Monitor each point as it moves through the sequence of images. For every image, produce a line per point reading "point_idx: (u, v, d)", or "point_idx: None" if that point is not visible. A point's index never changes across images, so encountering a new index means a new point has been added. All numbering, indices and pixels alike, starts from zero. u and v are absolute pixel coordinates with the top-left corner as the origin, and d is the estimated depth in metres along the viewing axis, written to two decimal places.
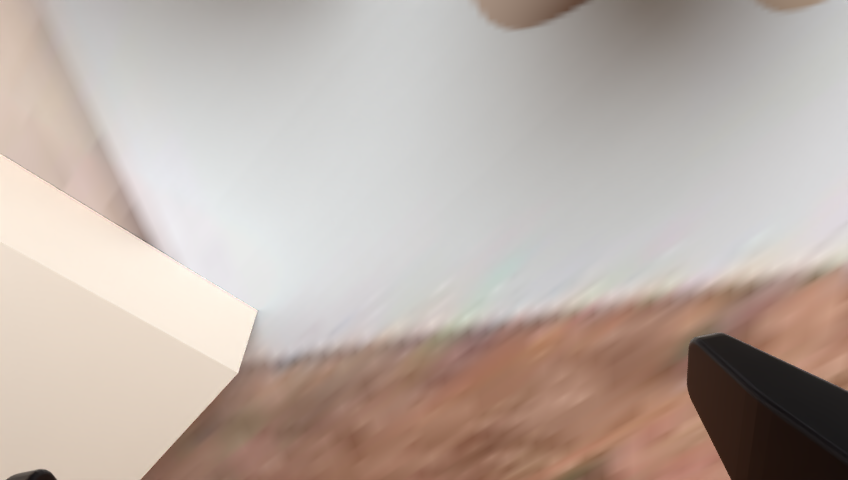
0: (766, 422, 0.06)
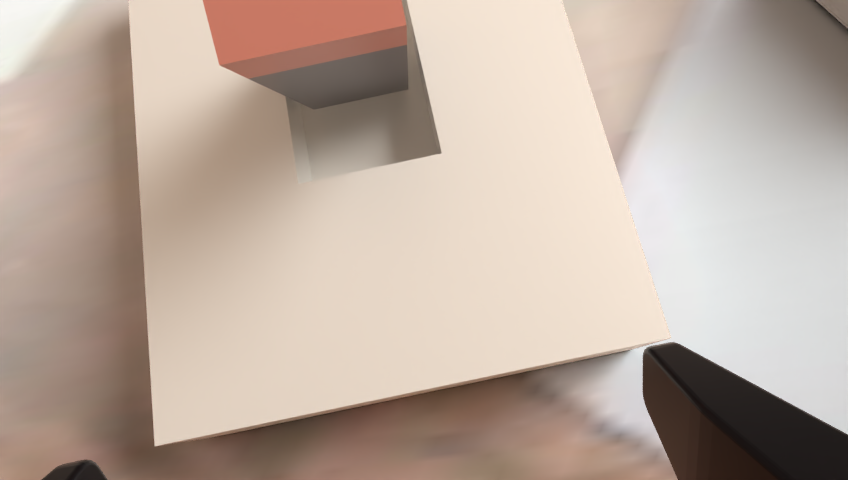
0: (708, 433, 0.06)
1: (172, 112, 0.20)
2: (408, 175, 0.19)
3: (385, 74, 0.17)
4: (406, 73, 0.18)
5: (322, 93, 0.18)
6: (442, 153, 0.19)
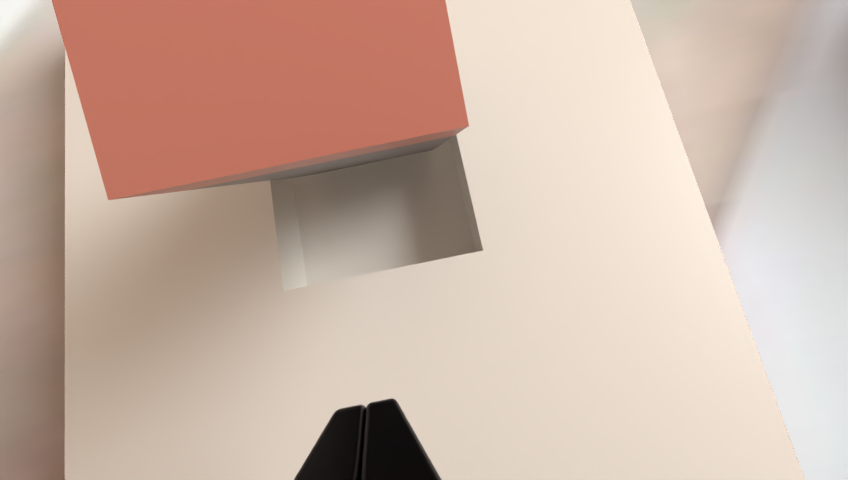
0: None
1: None
2: (436, 282, 0.14)
3: (408, 151, 0.12)
4: None
5: (317, 170, 0.13)
6: (483, 250, 0.14)
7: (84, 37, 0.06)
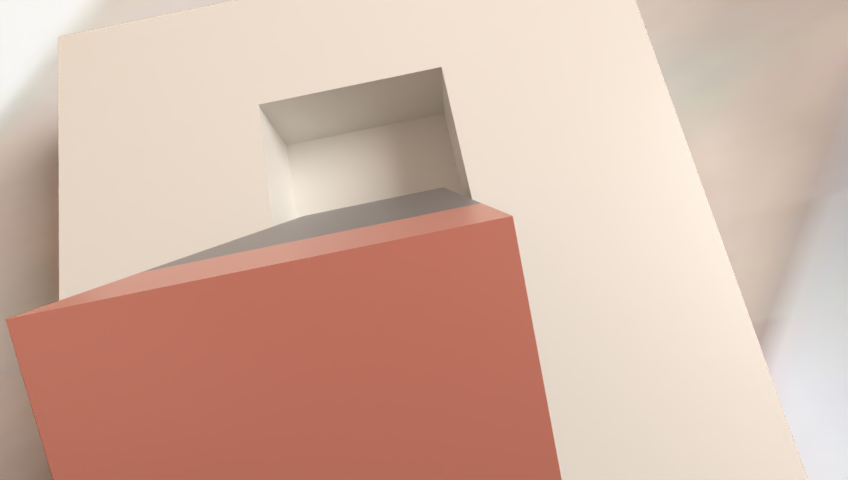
0: None
1: None
2: None
3: None
4: None
5: None
6: None
7: (63, 414, 0.04)
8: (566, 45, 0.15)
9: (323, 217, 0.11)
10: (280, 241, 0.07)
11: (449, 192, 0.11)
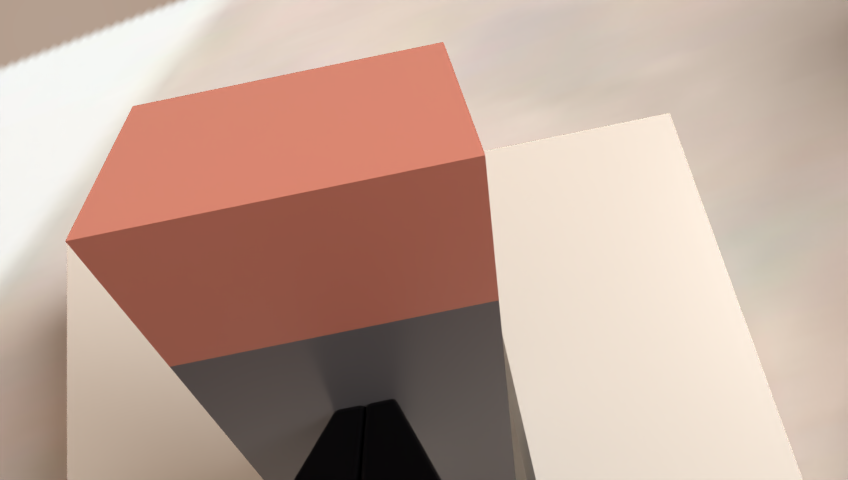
0: None
1: None
2: None
3: (471, 463, 0.09)
4: (512, 474, 0.09)
5: None
6: None
7: (133, 138, 0.06)
8: (628, 263, 0.13)
9: None
10: None
11: None
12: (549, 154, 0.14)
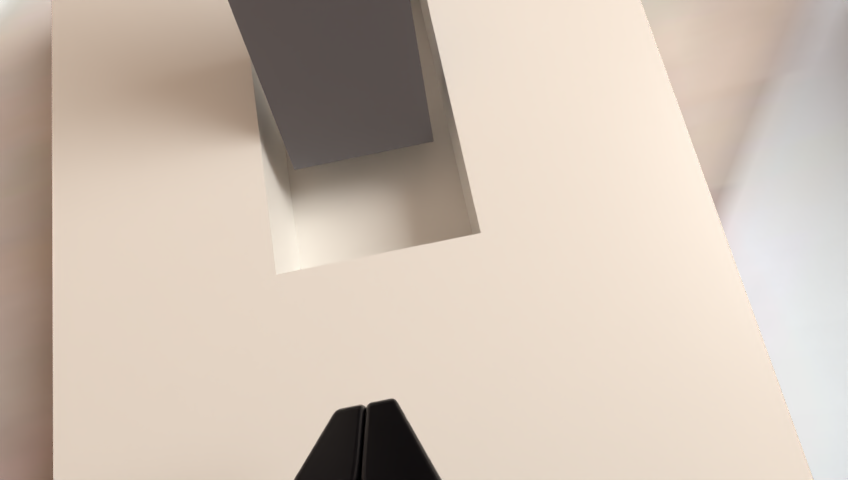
0: None
1: (104, 167, 0.14)
2: (433, 265, 0.13)
3: None
4: None
5: (282, 19, 0.12)
6: (481, 232, 0.13)
7: None
8: None
9: None
10: None
11: None
12: None
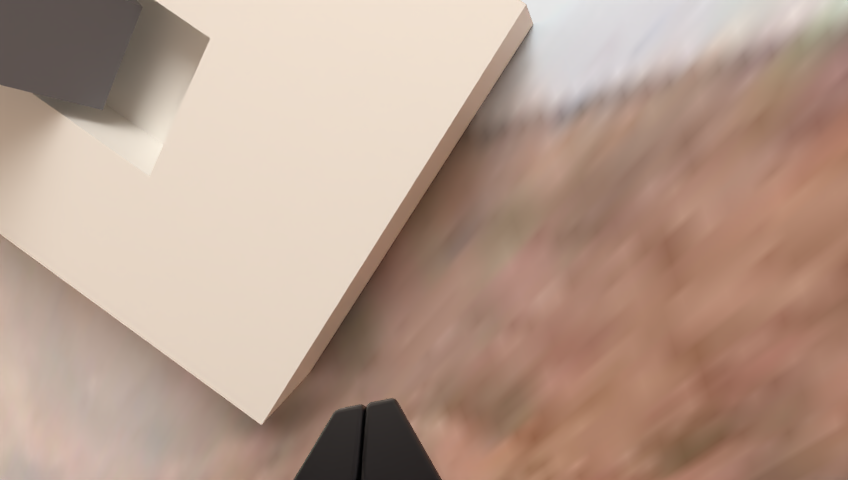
0: None
1: (23, 212, 0.20)
2: (207, 85, 0.17)
3: None
4: None
5: None
6: (210, 38, 0.17)
7: None
8: None
9: None
10: None
11: None
12: None
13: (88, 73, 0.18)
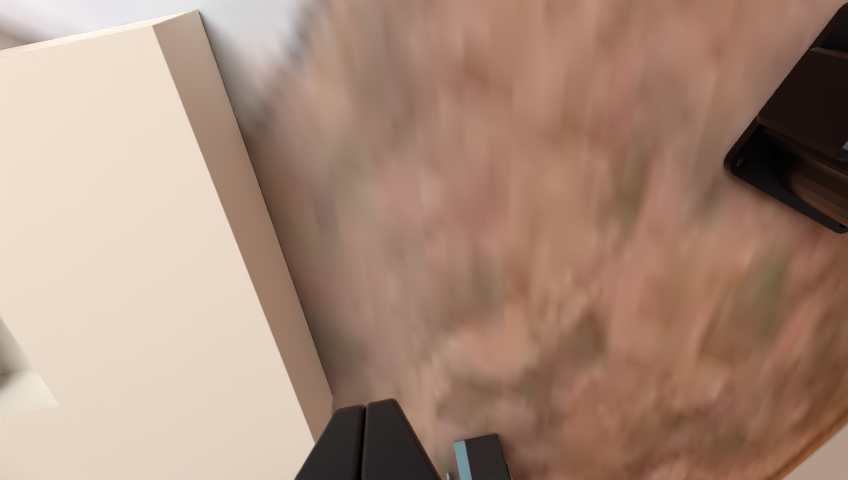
0: None
1: None
2: (16, 310, 0.17)
3: None
4: None
5: None
6: None
7: None
8: None
9: None
10: None
11: None
12: None
13: None
